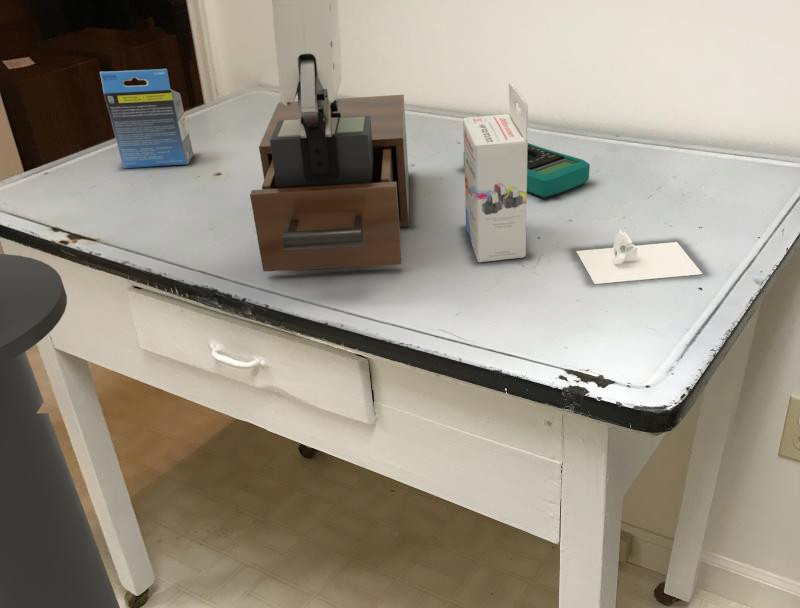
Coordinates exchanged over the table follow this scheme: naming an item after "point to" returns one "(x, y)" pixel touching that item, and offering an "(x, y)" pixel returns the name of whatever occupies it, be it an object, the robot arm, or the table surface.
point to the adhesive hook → (636, 261)
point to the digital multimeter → (553, 171)
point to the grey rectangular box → (350, 151)
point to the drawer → (329, 221)
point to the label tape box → (147, 119)
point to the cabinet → (385, 133)
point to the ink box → (497, 181)
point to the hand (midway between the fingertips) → (325, 164)
